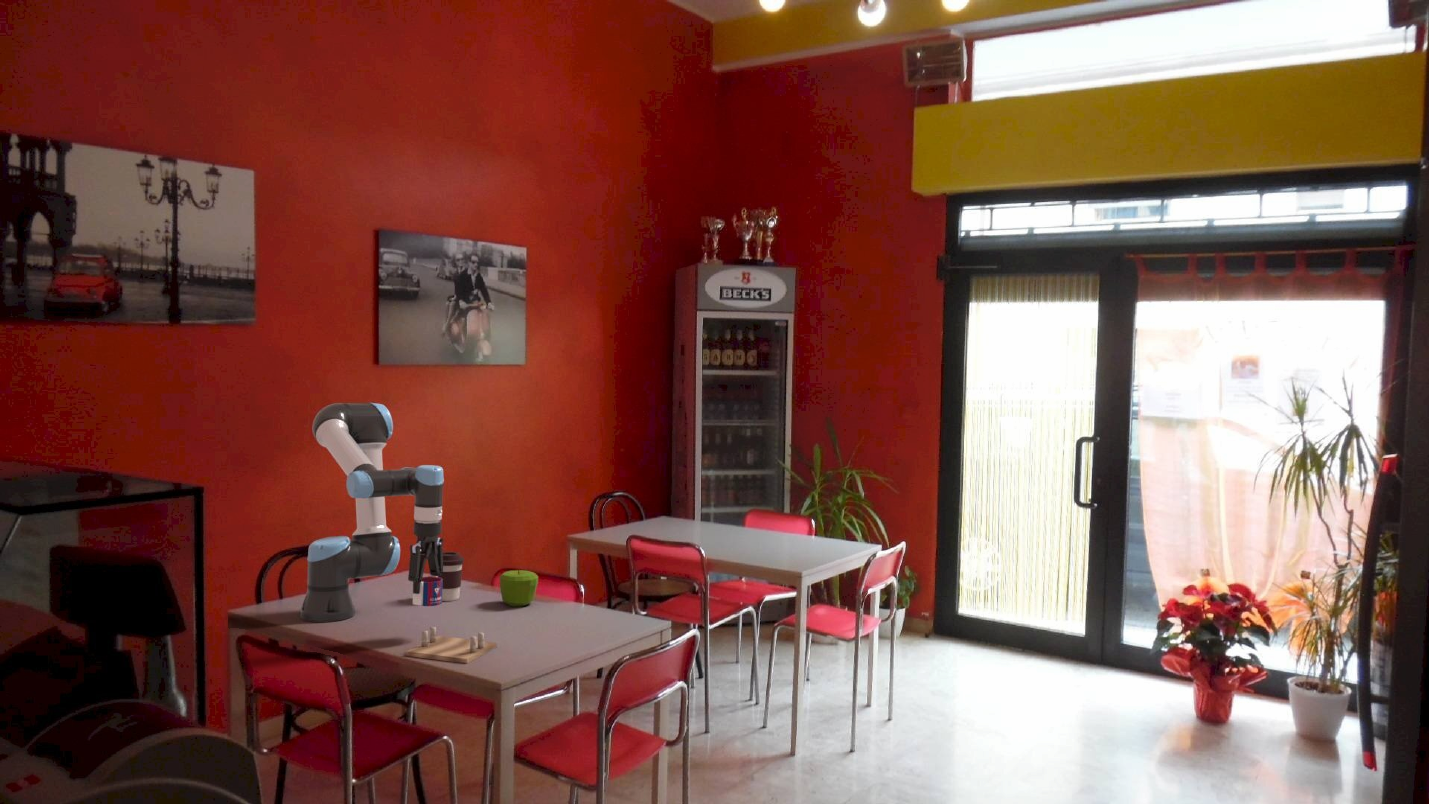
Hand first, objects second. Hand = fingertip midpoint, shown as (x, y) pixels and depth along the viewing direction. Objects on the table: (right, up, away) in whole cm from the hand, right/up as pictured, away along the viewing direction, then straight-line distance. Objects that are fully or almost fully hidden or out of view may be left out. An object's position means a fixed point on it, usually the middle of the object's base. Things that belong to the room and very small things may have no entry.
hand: (425, 601), depth 276 cm
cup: (0, -1, +1) cm, 1 cm away
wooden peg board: (+11, -11, -12) cm, 20 cm away
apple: (+18, -10, +42) cm, 46 cm away
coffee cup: (-6, -9, +45) cm, 46 cm away
